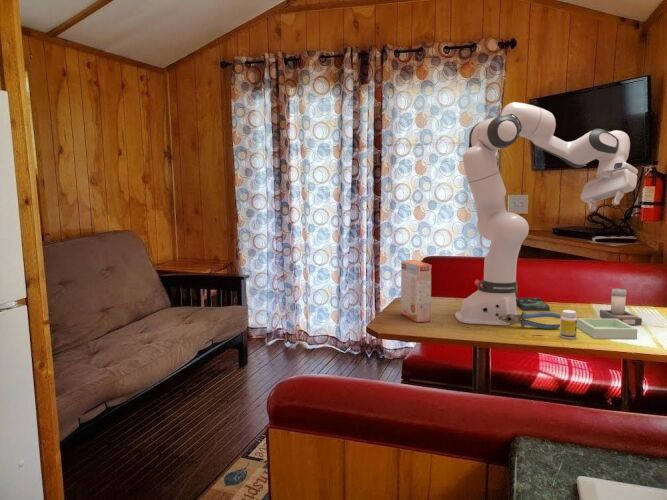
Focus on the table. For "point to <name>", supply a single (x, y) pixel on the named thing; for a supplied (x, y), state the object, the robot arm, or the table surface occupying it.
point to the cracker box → (416, 290)
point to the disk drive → (532, 304)
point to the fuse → (618, 301)
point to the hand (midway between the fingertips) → (603, 207)
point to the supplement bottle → (568, 324)
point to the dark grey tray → (622, 317)
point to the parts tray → (606, 328)
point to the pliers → (521, 320)
